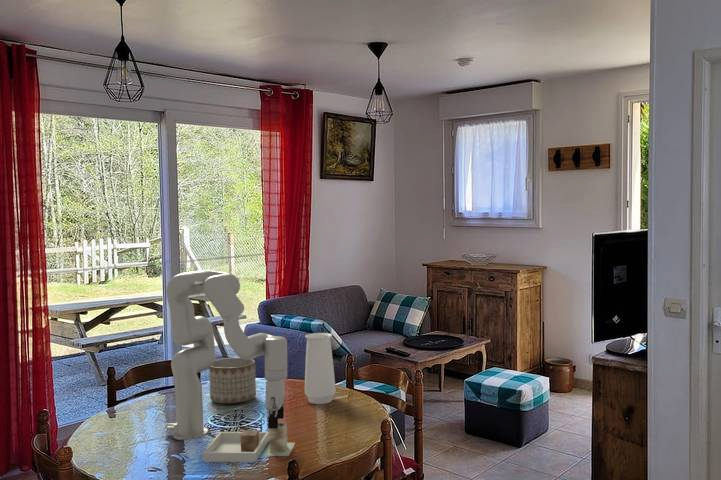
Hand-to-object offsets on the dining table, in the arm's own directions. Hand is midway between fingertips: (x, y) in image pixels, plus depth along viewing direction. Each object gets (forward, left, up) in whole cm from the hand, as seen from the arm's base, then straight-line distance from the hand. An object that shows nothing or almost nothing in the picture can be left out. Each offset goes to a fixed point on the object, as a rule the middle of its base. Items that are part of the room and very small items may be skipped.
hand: (276, 423), depth 221 cm
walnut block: (-9, -2, -9) cm, 12 cm away
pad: (+1, 0, -9) cm, 9 cm away
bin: (-13, -2, -9) cm, 16 cm away
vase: (+7, +57, -10) cm, 58 cm away
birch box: (+1, 0, -9) cm, 9 cm away
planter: (-31, +58, -10) cm, 66 cm away
